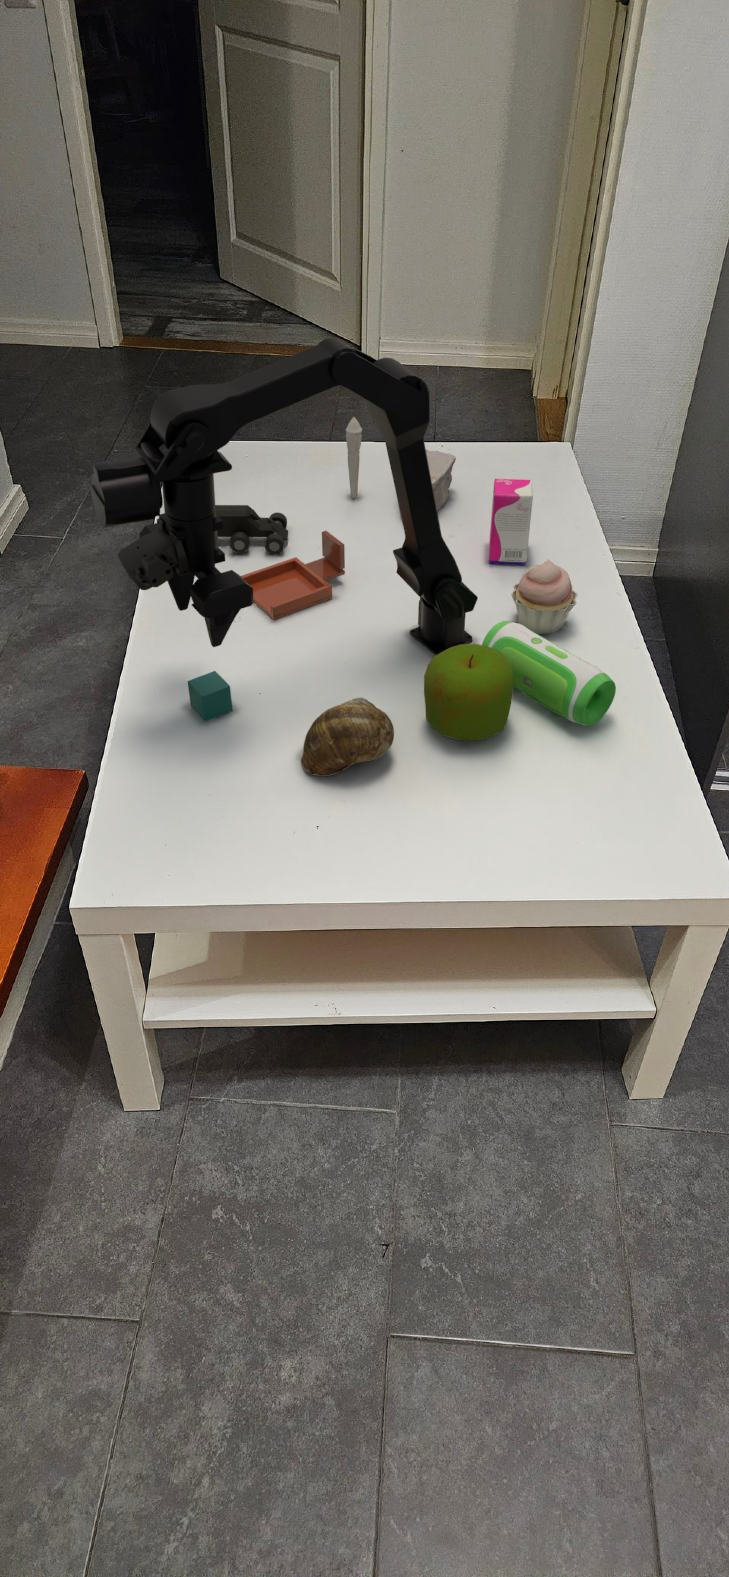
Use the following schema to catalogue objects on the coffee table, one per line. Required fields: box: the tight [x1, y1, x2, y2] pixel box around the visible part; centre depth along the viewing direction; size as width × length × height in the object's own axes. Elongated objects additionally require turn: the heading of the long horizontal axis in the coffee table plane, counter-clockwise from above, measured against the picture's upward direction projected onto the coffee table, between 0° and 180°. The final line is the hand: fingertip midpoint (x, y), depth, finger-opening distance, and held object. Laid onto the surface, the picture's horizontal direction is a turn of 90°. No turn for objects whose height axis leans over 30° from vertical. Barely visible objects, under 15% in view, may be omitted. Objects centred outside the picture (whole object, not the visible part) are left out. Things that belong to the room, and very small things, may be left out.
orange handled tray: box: [240, 530, 346, 621], centre depth 157 cm, size 10×14×6 cm
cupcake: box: [510, 559, 579, 635], centre depth 149 cm, size 9×9×10 cm
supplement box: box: [488, 478, 534, 566], centre depth 163 cm, size 6×6×12 cm
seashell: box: [300, 697, 395, 777], centre depth 128 cm, size 11×9×8 cm
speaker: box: [481, 620, 617, 727], centre depth 138 cm, size 18×7×8 cm, turn 42°
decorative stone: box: [426, 449, 457, 512], centre depth 177 cm, size 15×7×10 cm
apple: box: [423, 643, 515, 742], centre depth 132 cm, size 11×11×11 cm
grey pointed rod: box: [345, 416, 363, 500], centre depth 176 cm, size 2×3×14 cm
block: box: [187, 670, 233, 723], centre depth 137 cm, size 4×4×4 cm
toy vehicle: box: [215, 504, 289, 556], centre depth 167 cm, size 8×15×9 cm, turn 90°
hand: (199, 627), depth 131 cm, fingers open, 9 cm apart
